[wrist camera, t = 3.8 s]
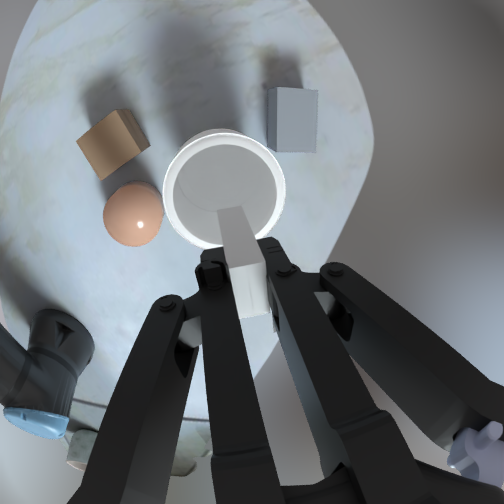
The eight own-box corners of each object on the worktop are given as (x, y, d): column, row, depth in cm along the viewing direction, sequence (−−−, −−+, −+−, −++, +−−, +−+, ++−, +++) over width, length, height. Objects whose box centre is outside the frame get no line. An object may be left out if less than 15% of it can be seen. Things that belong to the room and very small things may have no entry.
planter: (66, 419, 62) (60, 456, 49) (111, 431, 67) (108, 469, 53) (77, 436, 69) (73, 469, 56) (117, 446, 74) (115, 479, 61)
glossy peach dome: (120, 238, 37) (113, 251, 34) (105, 188, 33) (95, 197, 30) (170, 227, 38) (167, 240, 35) (157, 174, 34) (152, 182, 31)
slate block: (267, 146, 35) (276, 152, 31) (267, 89, 31) (277, 86, 27) (302, 147, 36) (315, 152, 31) (303, 92, 32) (317, 90, 28)
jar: (164, 145, 32) (139, 167, 19) (237, 112, 32) (262, 113, 19) (197, 212, 38) (196, 271, 25) (265, 183, 37) (301, 226, 25)
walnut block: (115, 170, 33) (101, 181, 27) (93, 135, 29) (75, 141, 24) (150, 145, 32) (141, 152, 27) (129, 109, 29) (115, 109, 24)
